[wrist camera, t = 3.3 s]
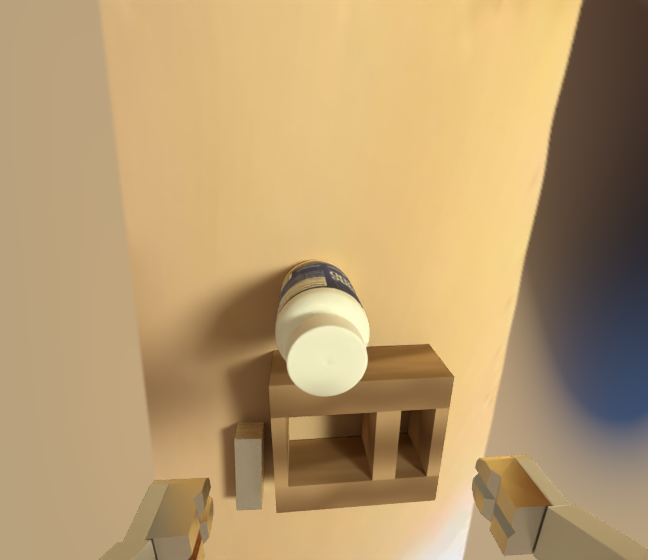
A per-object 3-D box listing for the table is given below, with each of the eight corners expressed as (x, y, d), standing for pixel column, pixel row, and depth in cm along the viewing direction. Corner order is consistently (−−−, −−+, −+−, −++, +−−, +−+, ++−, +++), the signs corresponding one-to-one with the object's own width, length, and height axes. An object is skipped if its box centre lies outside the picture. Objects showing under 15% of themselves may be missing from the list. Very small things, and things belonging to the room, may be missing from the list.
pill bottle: (361, 305, 25) (398, 382, 16) (300, 333, 26) (302, 424, 16) (333, 245, 24) (357, 292, 14) (268, 276, 24) (250, 341, 15)
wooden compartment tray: (273, 350, 26) (268, 385, 22) (429, 344, 27) (454, 376, 23) (279, 464, 30) (276, 512, 25) (415, 454, 31) (435, 500, 26)
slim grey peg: (238, 419, 28) (234, 439, 26) (264, 419, 28) (261, 438, 26) (240, 487, 31) (236, 510, 29) (263, 486, 31) (261, 509, 29)
